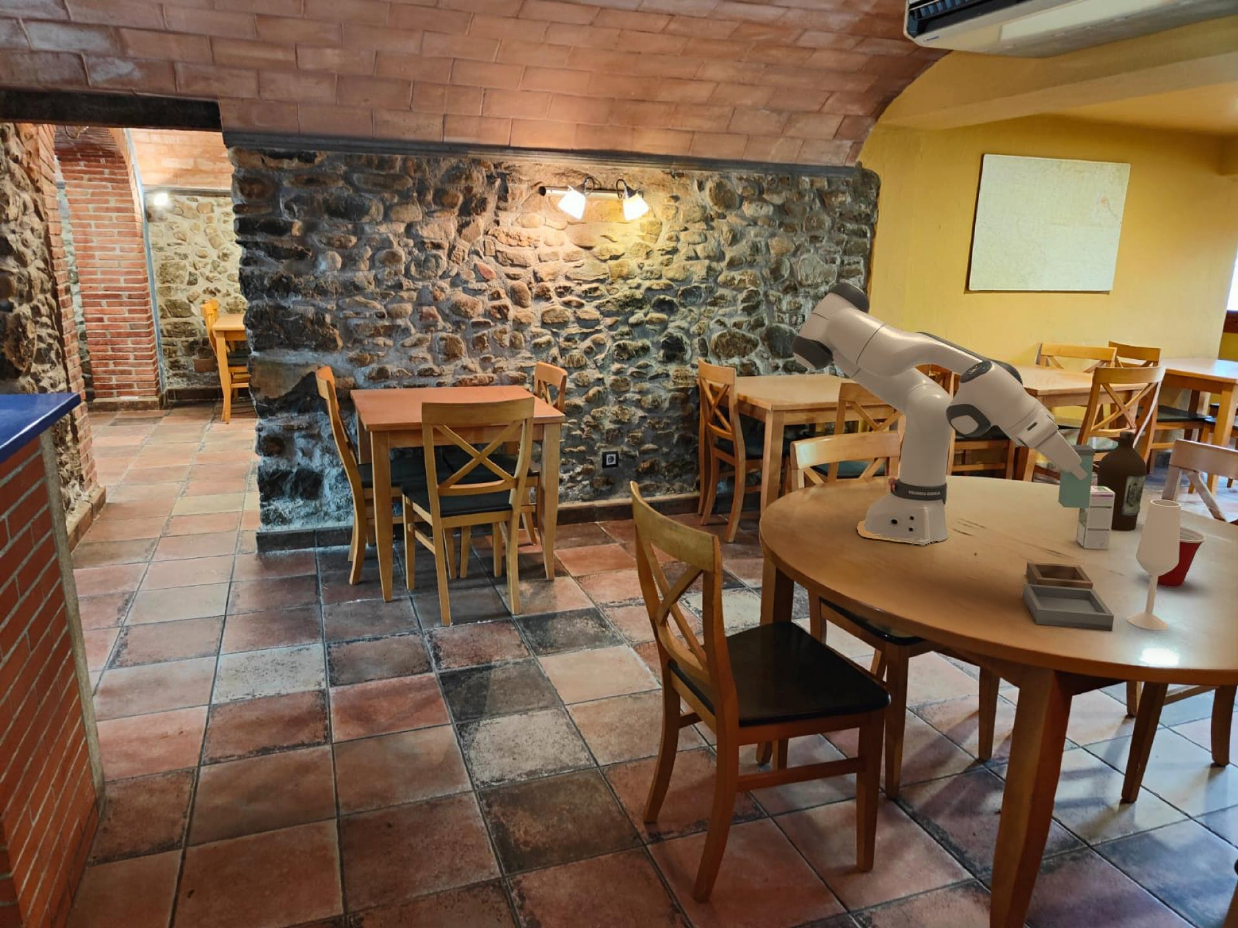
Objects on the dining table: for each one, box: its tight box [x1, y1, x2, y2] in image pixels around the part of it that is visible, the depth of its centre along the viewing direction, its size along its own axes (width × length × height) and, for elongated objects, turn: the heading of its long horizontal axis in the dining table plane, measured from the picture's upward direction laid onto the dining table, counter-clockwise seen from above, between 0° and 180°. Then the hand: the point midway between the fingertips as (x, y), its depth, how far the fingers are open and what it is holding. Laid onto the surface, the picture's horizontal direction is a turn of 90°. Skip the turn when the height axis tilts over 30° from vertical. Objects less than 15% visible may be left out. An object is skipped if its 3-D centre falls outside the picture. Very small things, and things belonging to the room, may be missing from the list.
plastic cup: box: [1149, 525, 1208, 588], centre depth 169 cm, size 11×11×12 cm
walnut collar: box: [1025, 561, 1094, 589], centre depth 170 cm, size 10×10×3 cm
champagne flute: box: [1126, 499, 1182, 631], centre depth 149 cm, size 7×7×24 cm
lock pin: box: [1057, 444, 1096, 509], centre depth 160 cm, size 5×5×12 cm
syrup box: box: [1075, 485, 1115, 551], centre depth 192 cm, size 6×6×14 cm
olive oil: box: [1096, 430, 1148, 532], centre depth 205 cm, size 11×11×25 cm
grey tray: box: [1021, 583, 1115, 632], centre depth 156 cm, size 13×13×3 cm
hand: (1079, 473), depth 159 cm, fingers closed on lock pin, 4 cm apart
